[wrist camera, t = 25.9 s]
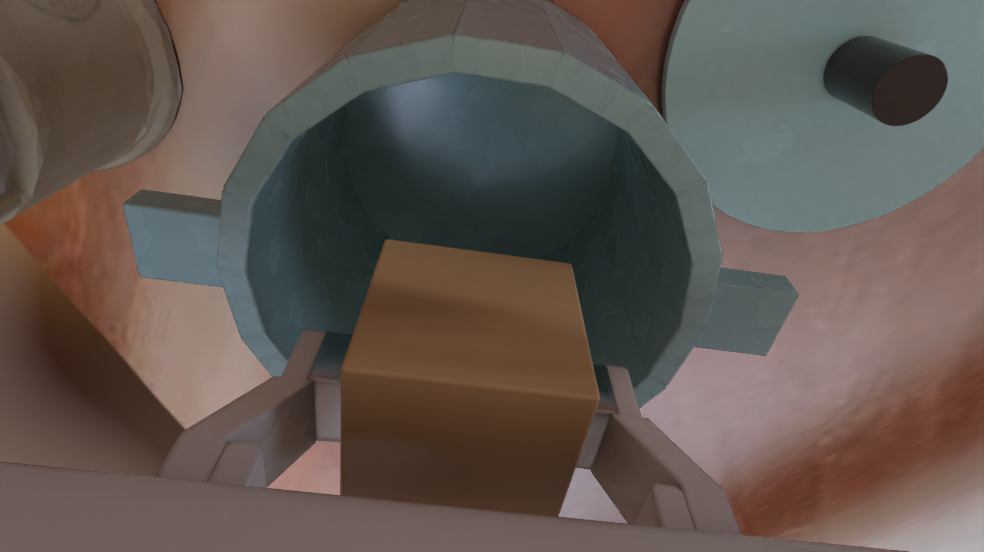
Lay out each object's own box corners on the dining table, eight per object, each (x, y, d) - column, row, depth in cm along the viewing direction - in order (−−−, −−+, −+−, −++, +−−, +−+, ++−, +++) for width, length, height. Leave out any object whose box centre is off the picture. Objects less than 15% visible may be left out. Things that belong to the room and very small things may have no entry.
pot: (640, 300, 30) (709, 487, 20) (275, 253, 28) (159, 429, 19) (739, 25, 22) (925, 110, 13) (253, -57, 21) (42, -33, 11)
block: (536, 395, 16) (549, 546, 12) (377, 377, 16) (339, 526, 12) (572, 262, 13) (602, 398, 10) (384, 237, 13) (339, 368, 9)
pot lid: (912, 238, 27) (981, 292, 23) (618, 200, 26) (640, 250, 22) (1139, -129, 19) (1302, -139, 15) (732, -201, 19) (795, -232, 15)
